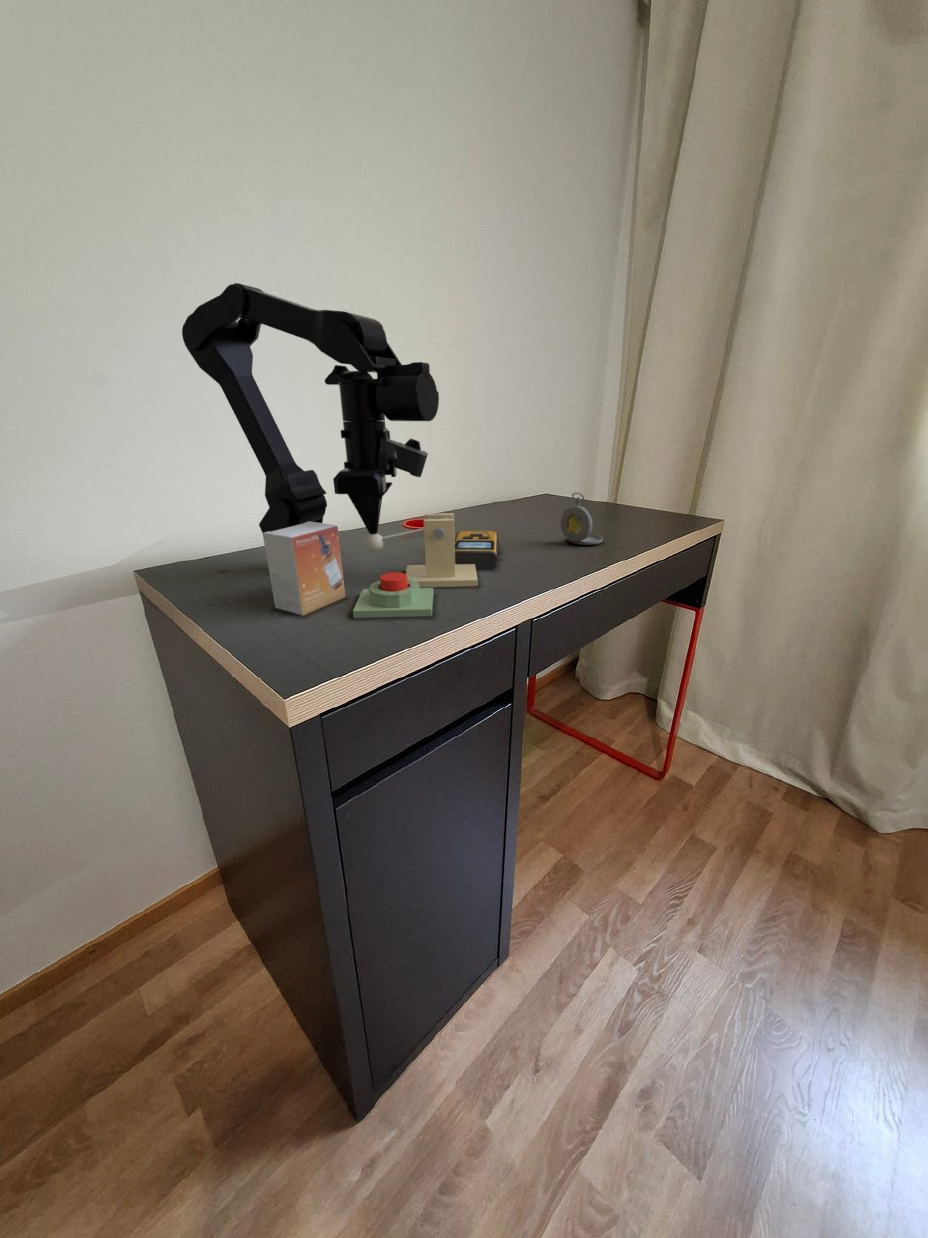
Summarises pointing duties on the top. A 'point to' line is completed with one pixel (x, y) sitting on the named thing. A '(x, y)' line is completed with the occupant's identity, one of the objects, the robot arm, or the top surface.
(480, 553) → the electronic device
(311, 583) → the small box
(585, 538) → the pocket watch
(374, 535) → the lever
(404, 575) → the button
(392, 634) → the top surface
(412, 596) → the button block
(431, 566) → the bracket
